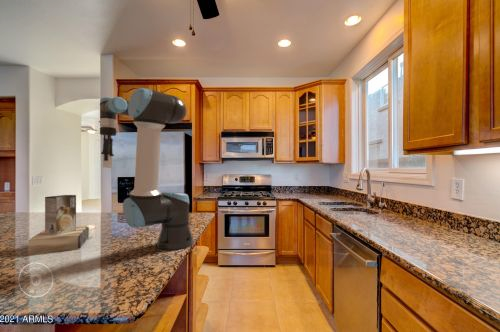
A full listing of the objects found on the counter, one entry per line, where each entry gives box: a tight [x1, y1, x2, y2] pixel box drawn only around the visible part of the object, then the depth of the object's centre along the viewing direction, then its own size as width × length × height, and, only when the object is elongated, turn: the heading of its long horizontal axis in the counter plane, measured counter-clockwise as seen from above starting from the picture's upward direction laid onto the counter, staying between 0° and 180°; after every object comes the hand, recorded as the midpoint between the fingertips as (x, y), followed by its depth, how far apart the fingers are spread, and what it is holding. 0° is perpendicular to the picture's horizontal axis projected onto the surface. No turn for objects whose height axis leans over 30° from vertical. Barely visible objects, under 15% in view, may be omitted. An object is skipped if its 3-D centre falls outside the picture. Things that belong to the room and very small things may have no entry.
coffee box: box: [44, 194, 77, 235], centre depth 104 cm, size 9×6×16 cm
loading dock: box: [27, 225, 90, 256], centre depth 104 cm, size 18×17×6 cm
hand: (107, 167), depth 125 cm, fingers open, 13 cm apart
